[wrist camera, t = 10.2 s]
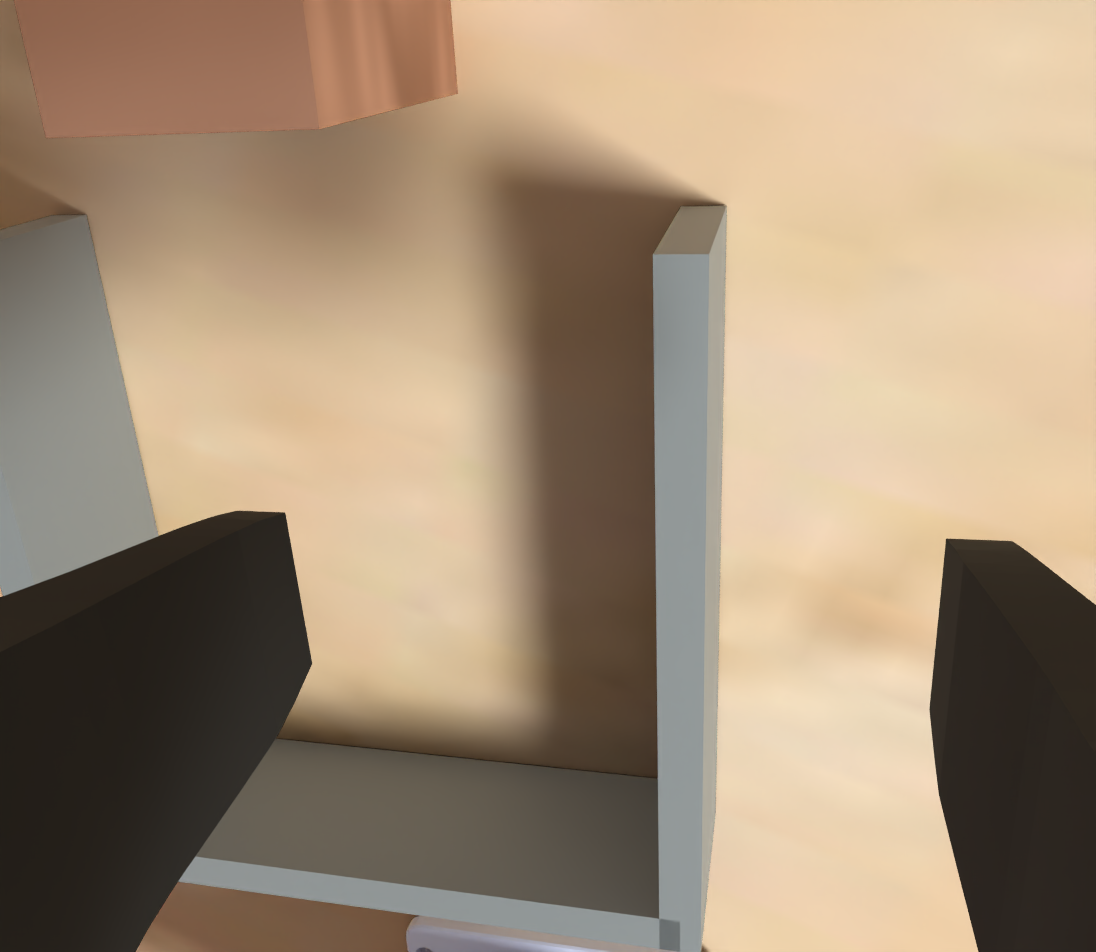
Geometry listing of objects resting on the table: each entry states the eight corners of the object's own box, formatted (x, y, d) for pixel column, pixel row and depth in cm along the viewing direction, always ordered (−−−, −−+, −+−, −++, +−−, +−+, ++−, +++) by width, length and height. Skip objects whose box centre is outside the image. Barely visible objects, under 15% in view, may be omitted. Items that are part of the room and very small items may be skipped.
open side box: (715, 812, 24) (701, 955, 20) (179, 753, 27) (84, 868, 23) (726, 205, 18) (708, 253, 15) (51, 215, 21) (-99, 258, 18)
